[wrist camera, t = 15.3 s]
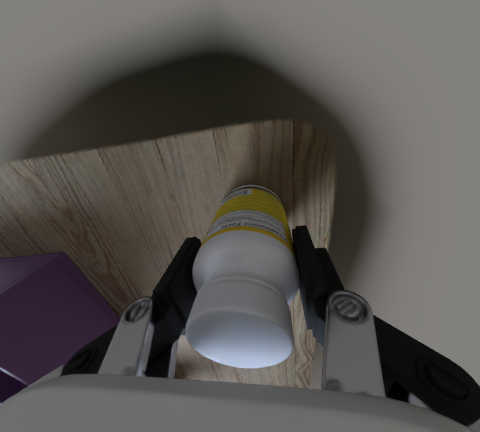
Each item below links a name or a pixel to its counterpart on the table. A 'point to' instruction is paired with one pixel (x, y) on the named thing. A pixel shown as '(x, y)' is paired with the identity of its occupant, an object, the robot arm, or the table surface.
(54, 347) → the purple box
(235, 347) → the supplement bottle
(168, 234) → the table surface
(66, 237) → the table surface
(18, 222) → the table surface
